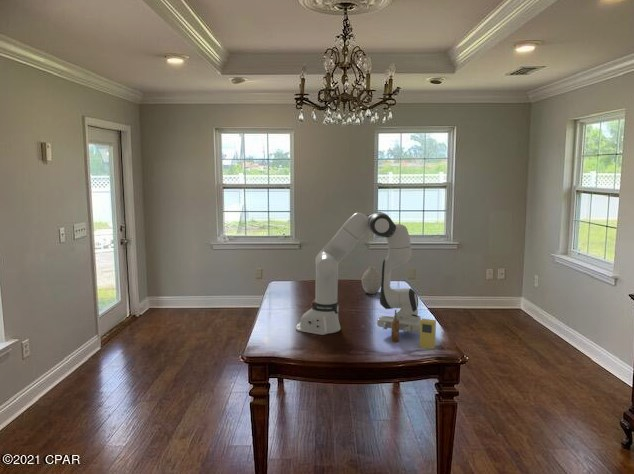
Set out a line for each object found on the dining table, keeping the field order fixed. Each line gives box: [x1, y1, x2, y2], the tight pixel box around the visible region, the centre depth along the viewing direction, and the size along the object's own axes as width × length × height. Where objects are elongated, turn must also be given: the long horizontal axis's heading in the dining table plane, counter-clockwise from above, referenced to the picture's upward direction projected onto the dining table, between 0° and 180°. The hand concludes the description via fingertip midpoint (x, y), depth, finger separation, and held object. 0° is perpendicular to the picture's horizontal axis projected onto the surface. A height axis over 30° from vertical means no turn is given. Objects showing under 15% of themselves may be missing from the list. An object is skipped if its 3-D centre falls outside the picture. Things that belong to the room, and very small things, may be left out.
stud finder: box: [419, 317, 437, 350], centre depth 213 cm, size 4×6×12 cm
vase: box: [361, 266, 382, 295], centre depth 309 cm, size 13×13×17 cm
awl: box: [390, 309, 400, 343], centre depth 220 cm, size 3×3×15 cm
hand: (394, 329), depth 219 cm, fingers open, 8 cm apart
